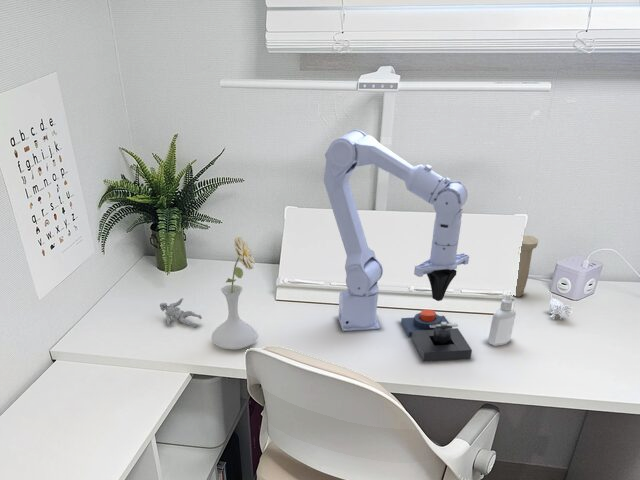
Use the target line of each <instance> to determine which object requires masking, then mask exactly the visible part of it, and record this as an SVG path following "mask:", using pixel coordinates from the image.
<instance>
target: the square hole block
mask: <svg viewBox="0 0 640 480" xmlns="http://www.w3.org/2000/svg"><path fill="white" fill-rule="evenodd" d="M433 335H434V330H418V331H412V337H411V342H412V343H413V346H414V347H415V349H416V351H417V353H418V355H419V357H420V359H421V362H422V363H428V362H429V363H431V362H448V361H462V360H471V359H472V358H471V357H472V352H473V349H472V348H471V346H470V345H469V343H468V341H467V340H466V339H465V337H464V336H463V334H462V332H461V331H460V330H459V328H458V327H457V328H456V327H452V332H451V339H450V345H435V346H434V344H433V343H432V342H433Z"/></svg>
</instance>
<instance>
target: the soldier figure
mask: <svg viewBox="0 0 640 480" xmlns="http://www.w3.org/2000/svg"><path fill="white" fill-rule="evenodd" d="M183 301H184V298H183V297H182V298H180V299H179V300H178V301H176V302H173V303H170V304H169V305H168V303H167V302H161V303H159V308H160V310H161V311H162V312H164V311H165V313H164V314H165V317H166V321H167V322H166V323H167V325H168V326H170V324H171V321H172V319H175V320H177V321H178V322H181V323H182V324H184V325H185V326H193V327H194V328H197V327H198V323H195V322H192V321H190V320H188V319H187V318H189V317H195V318H198V320H199V319H200V320H202V319H203V317H202V315H201V314H198V313H196V312H194V311H193V310H186V311H184V310H181V308H180V307H179V306H180V305H181V304H182V303H183ZM171 318H172V319H171Z"/></svg>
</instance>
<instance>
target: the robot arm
mask: <svg viewBox="0 0 640 480" xmlns="http://www.w3.org/2000/svg"><path fill="white" fill-rule="evenodd" d="M324 157H325V166H324V173H323V184H324V187H325V190H326V194H327V197H328V200H329V203H330V205H331V209H332V212H333V216H334V218H335V223H336V226H337V229H338V232H339V236H340V238H341V242H342V245H343V248H344V251H345V254H346V258H345V264H344V271H345V275H346V276H345V284H346V288H347V289H345V290H344V289H343V290H340V291H339V296H338V316H337V319H338V323H339V326H340V328H341V330H342V331H343V332H351V331H352V332H353V331H366V330H367V331H369V330H381V326H380V324H379V322H378V319H377V312H378V300H379V299H378V298H379V285H378V281H380V280H381V278H382V277H383V273H384V268H383V266H382V265H383V264H382V263H381V262H380V261H379V260H378V258H377V257H376V254H375V251H374V250H373V249H371V248H370V247H369V245H368V242H367V239H366V235H365V232H364V228H363V225H362V222H361V218H360V215H359V211H358V209H357V204H356V201H355V198H354V194H353V191H352V188H351V184H350V179H351V176H352V175H353V173H354V171H355V169H356V167H363V166H370V165H373V166H376V168H377V167H378V168H379V169H381V170H383V171H385V172H387V173H389V174H390V175H392V176H395V177H397V178H398V179H400V180H402V181H404V184H405V188H406V190H407V191H409V192H410V193H412V194H413V195H415V196H416V197H418V198H419V199H422V200H423V201H425V202H427V203H428V204H429V205H432V206H433V209H434V211H435V219H434V222H433V223H434V224H433V231H432V238H431V239H432V240H431V248H430V256H429V259H426V260H425V261H423V262H421V263H419V264H418V265H414V271H413V275H415V276H416V277H418V278H421V277H423V276H424V275H426V276H427V278H428V281H429V285H430V290H431V297H432V299H433V300H435V301H437V302H440V301H443V299H444V297H445V294H446V292H447V289H448V288H449V286H450V284H451V283H452V281H453V279H454V278H455V277H456V276H457V272H458V271H457V268H458V266H461V265H468V264H469V261H470V255H469V254H466V253H464V252H463V253H458V245H459V240H460V233H461V225H462V215H463V206H464V205H465V204H466V201H467V199H468V190H467V188H466V187H465V185H464V184H462V182H461V181H459V180H451V178H449V177H448V176H447V177H446V178H445V177H444V176H442V175H440V174H439V173H437V172H435V171H434V170H433V166H432V165H430V164H426V165H424V164H422V163H421V164H418V165H412V164H410V163H409V162H408V161H406V160H405V159H404V158H402V157H401V156H399V155H398V154H396V153H395V152H393V151H392V150H390V149H389V148H387V147H386V146H385V145H383V144H382V143H380V142H379V141H378V140H377V139H376V138H375V137H374V136H372V135H370V134H366V133H365V132H364V131H363V130H360V129H352V130H350V131H348V132H347V133H346V134H344V135H342V136H341V137H338V138H335V139H334V140H333V141H332V142H331V143H330V145H329V147H328V148H327V150H326V151H325V153H324Z"/></svg>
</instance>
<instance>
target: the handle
mask: <svg viewBox="0 0 640 480" xmlns="http://www.w3.org/2000/svg"><path fill="white" fill-rule="evenodd" d="M522 236H523V241H522V246H521V253H520V262H519V270H518V279H517V286H516V297H517V298H520V297H521V296H523V295H524V293H525V288H526V285H527V282H528V279H529V275H530V274H529V273H530V268H531V261H532V260H531V259H532V255H533V250H534V249H537V247H538V243H539V240H538V238H537V237H536V236H533V235H522Z"/></svg>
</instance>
